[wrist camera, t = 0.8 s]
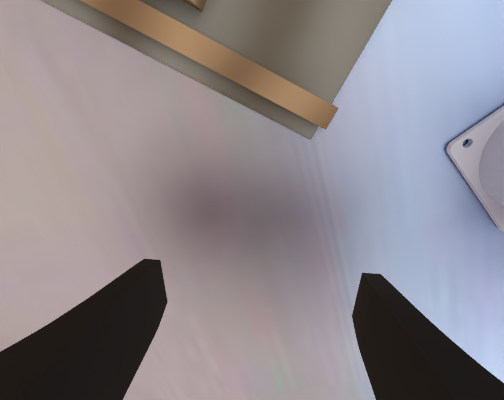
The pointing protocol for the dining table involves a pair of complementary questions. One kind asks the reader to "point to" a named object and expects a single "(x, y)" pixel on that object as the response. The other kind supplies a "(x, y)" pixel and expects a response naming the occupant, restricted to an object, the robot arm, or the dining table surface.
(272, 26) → the channel
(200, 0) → the block
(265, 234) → the dining table surface
